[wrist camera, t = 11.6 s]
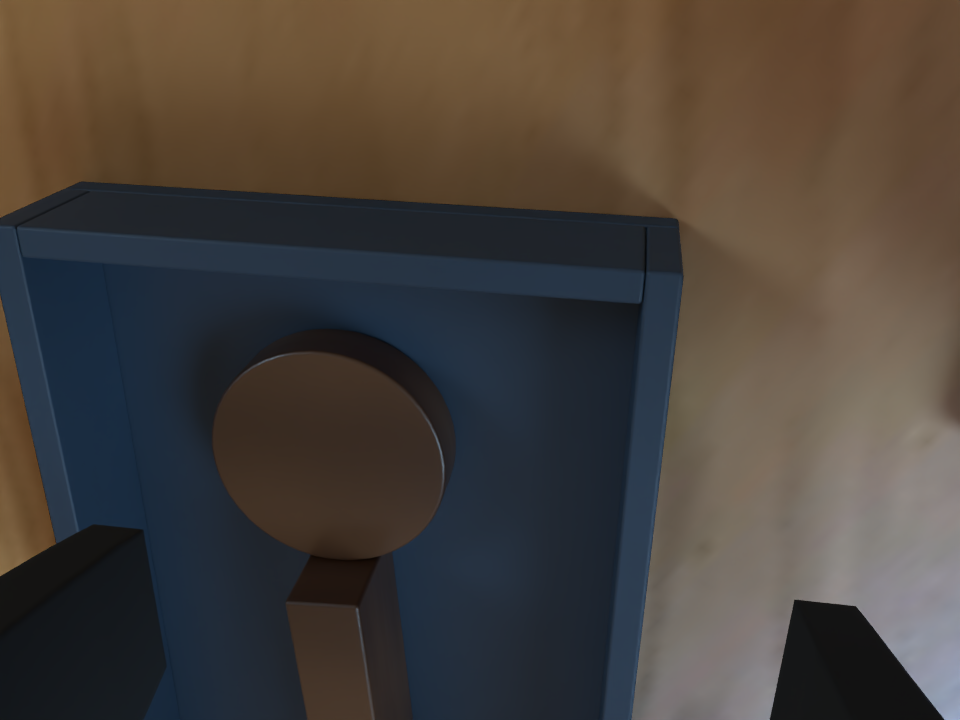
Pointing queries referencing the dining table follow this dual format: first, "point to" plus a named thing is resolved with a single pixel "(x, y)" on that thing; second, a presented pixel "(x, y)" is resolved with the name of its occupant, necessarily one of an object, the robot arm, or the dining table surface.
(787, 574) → the dining table surface
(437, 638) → the tray
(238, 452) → the wooden spoon
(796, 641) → the robot arm
